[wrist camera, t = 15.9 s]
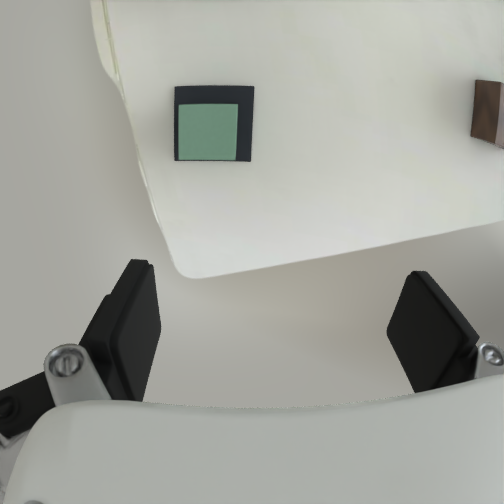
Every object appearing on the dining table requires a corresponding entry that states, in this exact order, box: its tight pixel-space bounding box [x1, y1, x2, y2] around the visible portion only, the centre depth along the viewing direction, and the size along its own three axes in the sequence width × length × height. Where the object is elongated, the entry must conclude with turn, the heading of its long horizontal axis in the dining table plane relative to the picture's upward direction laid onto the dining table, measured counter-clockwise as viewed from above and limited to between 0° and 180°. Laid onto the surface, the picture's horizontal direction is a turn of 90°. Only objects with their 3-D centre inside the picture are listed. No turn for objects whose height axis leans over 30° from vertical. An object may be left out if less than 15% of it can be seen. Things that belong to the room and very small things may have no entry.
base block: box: [471, 80, 504, 149], centre depth 25 cm, size 8×8×5 cm
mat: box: [174, 86, 254, 162], centre depth 29 cm, size 8×8×1 cm
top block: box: [179, 104, 238, 160], centre depth 26 cm, size 5×5×5 cm
